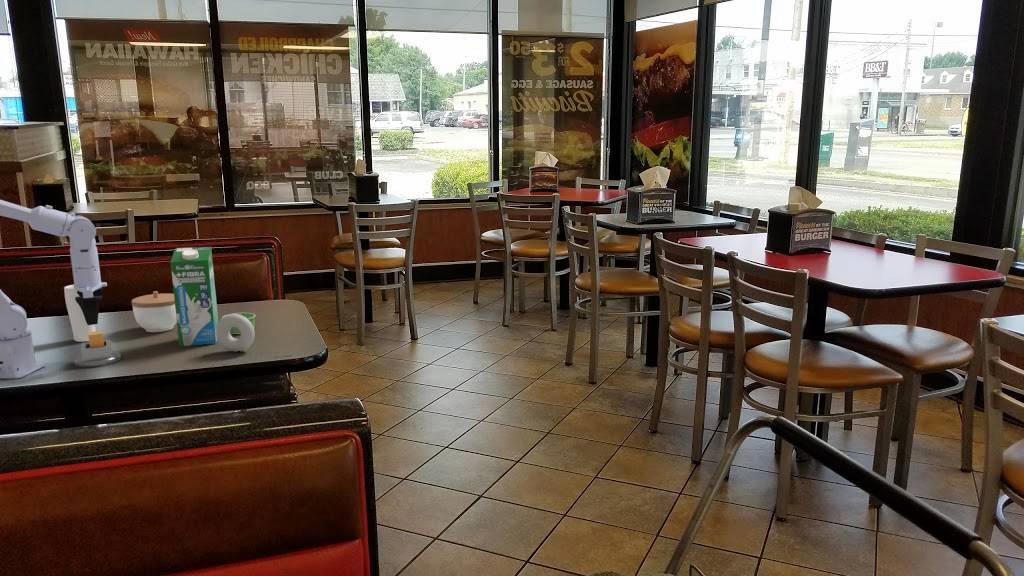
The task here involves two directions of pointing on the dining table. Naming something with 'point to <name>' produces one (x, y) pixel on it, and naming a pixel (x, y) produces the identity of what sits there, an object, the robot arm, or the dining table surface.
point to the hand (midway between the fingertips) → (92, 321)
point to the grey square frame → (97, 355)
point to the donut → (225, 336)
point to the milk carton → (194, 295)
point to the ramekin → (249, 316)
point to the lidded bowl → (155, 312)
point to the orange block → (96, 339)
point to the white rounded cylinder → (77, 316)
